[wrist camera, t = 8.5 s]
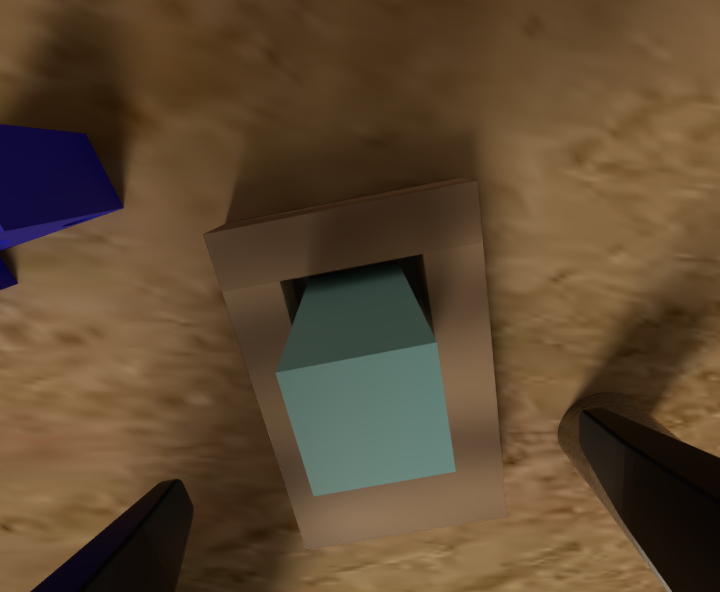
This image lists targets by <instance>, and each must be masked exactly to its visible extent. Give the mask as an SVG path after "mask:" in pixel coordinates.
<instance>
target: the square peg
mask: <svg viewBox="0 0 720 592" xmlns="http://www.w3.org/2000/svg"><path fill="white" fill-rule="evenodd" d="M276 376H277V379H278V382H279V386H280V389H281V392H282V395H283V399H284V402H285V405H286V408H287V412H288V415H289V418H290V421H291V425H292V428H293V431H294V434H295V438H296V441H297V444H298V447H299V451H300V454H301V457H302V460H303V464H304V467H305V470H306V473H307V477H308V480H309V483H310V486H311V490H312V493H313V496H319V495H325V494H331V493H336V492H342V491H348V490H354V489H359V488H365V487H371V486H377V485H382V484H388V483H394V482H400V481H405V480H411V479H417V478H423V477H428V476H434V475H440V474H446V473H451V472H456V469H455V462H454V455H453V449H452V442H451V435H450V428H449V421H448V415H447V408H446V401H445V394H444V387H443V380H442V374H441V367H440V360H439V353H438V346H437V341H436V339H435V337H434V335H433V333H432V331H431V329H430V327H429V325H428V323H427V321H426V319H425V317H424V315H423V312H422V310H421V308H420V306H419V304H418V302H417V300H416V298H415V296H414V294H413V292H412V290H411V288H410V286H409V283H408V281H407V279H406V277H405V275H404V273H403V271H402V269H401V267H400V265H399V263H398V262H395V263H390V264H385V265H380V266H375V267H370V268H365V269H360V270H355V271H350V272H345V273H340V274H335V275H330V276H325V277H320V278H315V279H310V280H309V281H308V283H307V286H306V289H305V292H304V295H303V297H302V300H301V303H300V306H299V309H298V311H297V314H296V317H295V320H294V323H293V325H292V328H291V331H290V334H289V337H288V339H287V342H286V345H285V348H284V351H283V353H282V356H281V359H280V362H279V365H278V367H277V370H276Z"/></svg>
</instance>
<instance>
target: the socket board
mask: <svg viewBox="0 0 720 592" xmlns="http://www.w3.org/2000/svg"><path fill="white" fill-rule="evenodd" d="M203 235H204V238H205V241H206V244H207V248H208V251H209V254H210V257H211V260H212V263H213V266H214V269H215V272H216V275H217V278H218V281H219V284H220V287H221V290H222V294H223V297H224V300H225V303H226V306H227V309H228V312H229V315H230V318H231V321H232V324H233V327H234V330H235V333H236V336H237V340H238V343H239V346H240V349H241V352H242V355H243V358H244V361H245V364H246V367H247V370H248V373H249V376H250V379H251V382H252V386H253V389H254V392H255V395H256V398H257V401H258V404H259V407H260V410H261V413H262V416H263V419H264V422H265V425H266V428H267V432H268V435H269V438H270V441H271V444H272V447H273V450H274V453H275V456H276V459H277V462H278V465H279V468H280V471H281V474H282V478H283V481H284V484H285V487H286V490H287V493H288V496H289V499H290V502H291V505H292V508H293V511H294V514H295V517H296V520H297V524H298V527H299V530H300V533H301V536H302V539H303V542H304V545H305V548H306V550H309V549H315V548H321V547H327V546H334V545H340V544H346V543H352V542H358V541H364V540H370V539H376V538H383V537H389V536H395V535H401V534H407V533H413V532H419V531H426V530H432V529H438V528H444V527H450V526H456V525H462V524H468V523H475V522H481V521H487V520H493V519H499V518H505V517H507V513H506V501H505V490H504V478H503V467H502V455H501V444H500V432H499V421H498V409H497V398H496V386H495V375H494V363H493V352H492V340H491V329H490V317H489V306H488V294H487V283H486V271H485V260H484V248H483V237H482V226H481V214H480V203H479V191H478V180H472V179H465V178H455V179H449V180H444V181H439V182H434V183H429V184H424V185H419V186H414V187H409V188H404V189H399V190H394V191H389V192H384V193H379V194H374V195H369V196H364V197H359V198H354V199H349V200H344V201H339V202H334V203H329V204H324V205H319V206H314V207H309V208H304V209H299V210H293V211H288V212H283V213H278V214H273V215H268V216H263V217H258V218H253V219H248V220H243V221H238V222H233V223H228V224H224V225H222V226H220V227H218V228H216V229H214V230H212V231H209V232H207V233H205V234H203ZM395 262H398V263H399V265H400V267H401V269H402V271H403V273H404V275H405V277H406V279H407V281H408V283H409V286H410V288H411V290H412V292H413V294H414V296H415V298H416V300H417V302H418V304H419V306H420V308H421V310H422V312H423V315H424V317H425V319H426V321H427V323H428V325H429V327H430V329H431V331H432V333H433V335H434V337H435V339H436V341H437V346H438V353H439V360H440V367H441V374H442V380H443V387H444V394H445V401H446V408H447V415H448V421H449V428H450V435H451V442H452V449H453V455H454V462H455V469H456V472H451V473H446V474H440V475H434V476H428V477H423V478H417V479H411V480H405V481H400V482H394V483H388V484H382V485H377V486H371V487H365V488H359V489H354V490H348V491H342V492H336V493H331V494H325V495H319V496H313V493H312V490H311V486H310V483H309V480H308V477H307V473H306V470H305V467H304V464H303V460H302V457H301V454H300V451H299V447H298V444H297V441H296V438H295V434H294V431H293V428H292V425H291V421H290V418H289V415H288V412H287V408H286V405H285V402H284V399H283V395H282V392H281V389H280V386H279V382H278V379H277V376H276V370H277V367H278V365H279V362H280V359H281V356H282V353H283V351H284V348H285V345H286V342H287V339H288V337H289V334H290V331H291V328H292V325H293V323H294V320H295V317H296V314H297V311H298V309H299V306H300V303H301V300H302V297H303V295H304V292H305V289H306V286H307V283H308V281H309V280H310V279H315V278H320V277H325V276H330V275H335V274H340V273H345V272H350V271H355V270H360V269H365V268H370V267H375V266H380V265H385V264H390V263H395Z"/></svg>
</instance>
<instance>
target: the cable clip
mask: <svg viewBox="0 0 720 592" xmlns="http://www.w3.org/2000/svg"><path fill="white" fill-rule="evenodd" d="M122 208H123V206H122V204H121V202H120V200H119V198H118V196H117V194H116V192H115V190H114V188H113V186H112V184H111V182H110V180H109V178H108V176H107V175H106V173H105V171H104V169H103V167H102V165H101V163H100V161H99V159H98V157H97V155H96V153H95V151H94V149H93V147H92V145H91V143H90V142H89V140H88V138H87V136H86V134H83V133H74V132H65V131H56V130H47V129H38V128H29V127H20V126H11V125H2V124H0V251H2V250H4V249H7V248H10V247H13V246H16V245H19V244H22V243H25V242H27V241H30V240H33V239H36V238H39V237H42V236H45V235H48V234H50V233H53V232H56V231H59V230H62V229H65V228H68V227H71V226H73V225H76V224H79V223H82V222H85V221H88V220H91V219H94V218H96V217H99V216H102V215H105V214H108V213H111V212H114V211H117V210H119V209H122ZM16 284H18V283H17V282H16V280H15V279H14V277H13V276H12V274H11V272H10V271H9V269H8V268H7V266H6V265H5V263H4V262H3V260H2V258H1V257H0V290H2V289H5V288H7V287H10V286H13V285H16Z"/></svg>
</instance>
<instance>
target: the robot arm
mask: <svg viewBox="0 0 720 592" xmlns="http://www.w3.org/2000/svg"><path fill="white" fill-rule="evenodd" d="M579 443H580V447H581V449H582V451H583V453H584V455H585V457H586V459H587V460H588V462H589V464H590V466H591V467H592V469H593V471H594V473H595V474H596V476H597V478H598V480H599V481H600V483H601V485H602V487H603V489H604V490H605V492H606V494H607V496H608V497H609V499H610V501H611V503H612V504H613V506H614V508H615V510H616V511H617V513H618V515H619V516H620V518H621V520H622V521H623V523H624V524H625V526H626V527H627V528H628V530H629V531H630V533H631V534H632V536H633V537H634V539H635V540H636V541H637V543H638V544H639V546H640V547H641V549H642V550H643V551H644V553H645V554H646V556H647V557H648V559H649V560H650V561H651V563H652V564H653V566H654V567H655V569H656V570H657V571H658V573H659V574H660V576H661V577H662V578H663V580H664V581H665V583H666V584H667V586H668V587H669V588H670V590H671V591H672V592H720V458H719V457H717V456H714V455H712V454H710V453H707V452H705V451H703V450H700V449H698V448H696V447H693V446H691V445H689V444H687V443H684V442H682V441H680V440H677V439H675V438H673V437H670V436H668V435H666V434H663V433H661V432H659V431H656V430H654V429H652V428H649V427H647V426H645V425H642V424H640V423H638V422H635V421H633V420H631V419H628V418H626V417H624V416H622V415H619V414H617V413H615V412H612V411H610V410H608V409H605V408H603V407H591V408H586V409H582V410H581V411H580V412H579ZM193 512H194V511H193V505H192V502H191V500H190V498H189V495H188V493H187V491H186V488H185V486H184V484H183V482H182V481H181V480H180V479H172V480H167V481H162V482H160V483H159V484H157V485H156V486H155V487H154V488H153V489H151V490H150V491H149V492H148V493H147V494H146V495H144V496H143V497H142V498H141V499H140V500H138V501H137V502H136V503H135V504H134V505H133V506H131V507H130V508H129V509H128V510H127V511H125V512H124V513H123V514H122V515H121V516H119V517H118V518H117V519H116V520H115V521H114V522H112V523H111V524H110V525H109V526H108V527H106V528H105V529H104V530H103V531H102V532H100V533H99V534H98V535H97V536H96V537H95V538H93V539H92V540H91V541H90V542H89V543H87V544H86V545H85V546H84V547H83V548H82V549H80V550H79V551H78V552H77V553H76V554H74V555H73V556H72V557H71V558H70V559H68V560H67V561H66V562H65V563H64V564H63V565H61V566H60V567H59V568H58V569H57V570H55V571H54V572H53V573H52V574H51V575H49V576H48V577H47V578H46V579H45V580H44V581H42V582H41V583H40V584H39V585H38V586H36V587H35V588H34V589H33V590H32V591H31V592H175V590H176V587H177V583H178V579H179V575H180V571H181V566H182V562H183V558H184V554H185V549H186V545H187V541H188V537H189V532H190V528H191V524H192V519H193Z"/></svg>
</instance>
